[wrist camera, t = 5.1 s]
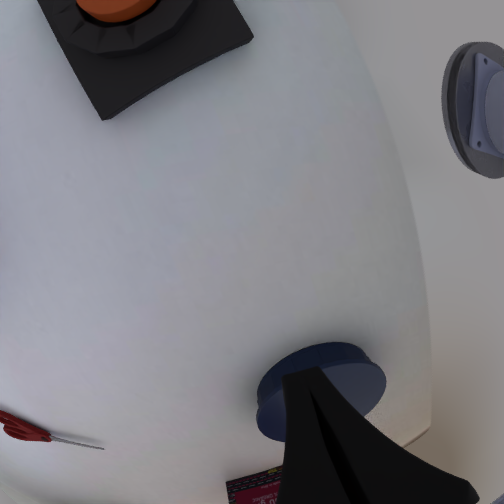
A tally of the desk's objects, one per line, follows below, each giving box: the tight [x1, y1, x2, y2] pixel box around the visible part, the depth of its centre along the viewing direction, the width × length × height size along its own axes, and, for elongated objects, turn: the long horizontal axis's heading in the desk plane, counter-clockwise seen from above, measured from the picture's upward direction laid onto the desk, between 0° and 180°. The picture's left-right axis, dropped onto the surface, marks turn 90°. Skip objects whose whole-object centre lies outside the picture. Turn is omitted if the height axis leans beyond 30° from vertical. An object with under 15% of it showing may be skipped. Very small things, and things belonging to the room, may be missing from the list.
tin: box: [257, 342, 371, 407], centre depth 24 cm, size 10×10×2 cm
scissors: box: [0, 410, 104, 450], centre depth 24 cm, size 5×14×1 cm, turn 79°
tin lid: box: [256, 359, 386, 442], centre depth 22 cm, size 11×11×4 cm
